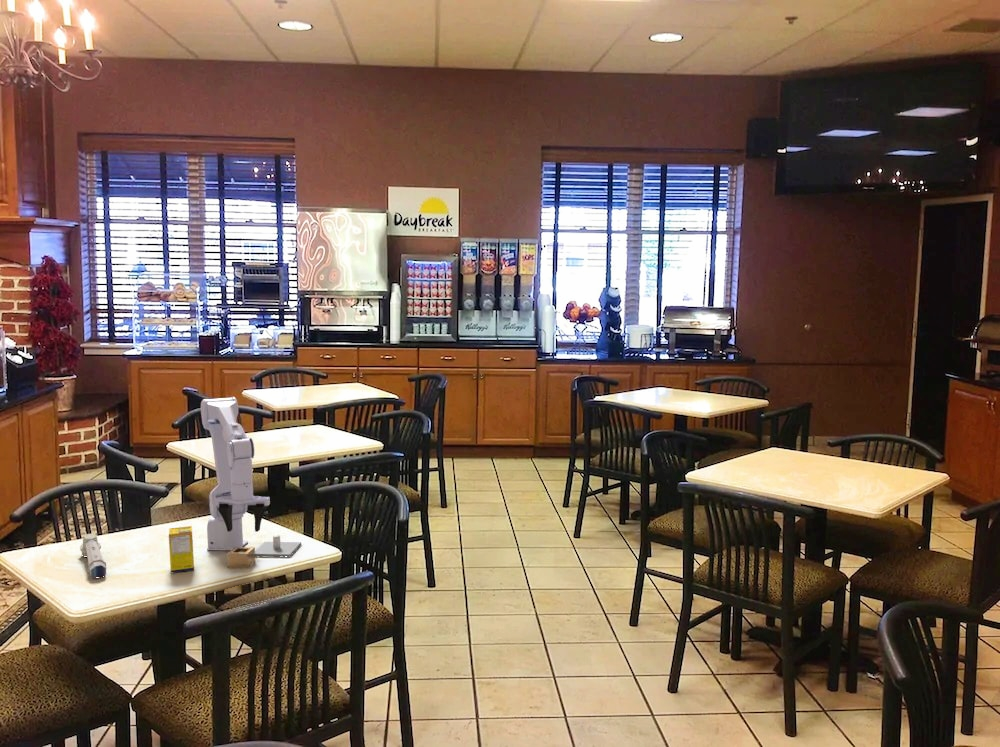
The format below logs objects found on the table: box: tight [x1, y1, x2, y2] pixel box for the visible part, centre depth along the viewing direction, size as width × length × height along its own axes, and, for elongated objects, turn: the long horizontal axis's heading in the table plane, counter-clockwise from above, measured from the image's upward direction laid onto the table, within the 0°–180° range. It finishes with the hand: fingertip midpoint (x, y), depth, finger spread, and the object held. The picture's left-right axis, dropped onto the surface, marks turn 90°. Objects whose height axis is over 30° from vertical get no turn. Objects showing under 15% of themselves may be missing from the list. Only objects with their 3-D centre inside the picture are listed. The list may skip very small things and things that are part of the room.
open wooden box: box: [226, 546, 256, 569], centre depth 231 cm, size 6×6×4 cm
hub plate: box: [255, 534, 302, 558], centre depth 242 cm, size 11×11×4 cm
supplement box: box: [168, 525, 195, 573], centre depth 227 cm, size 6×6×11 cm
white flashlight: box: [79, 533, 107, 579], centre depth 231 cm, size 5×7×25 cm
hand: (243, 530), depth 230 cm, fingers open, 7 cm apart
